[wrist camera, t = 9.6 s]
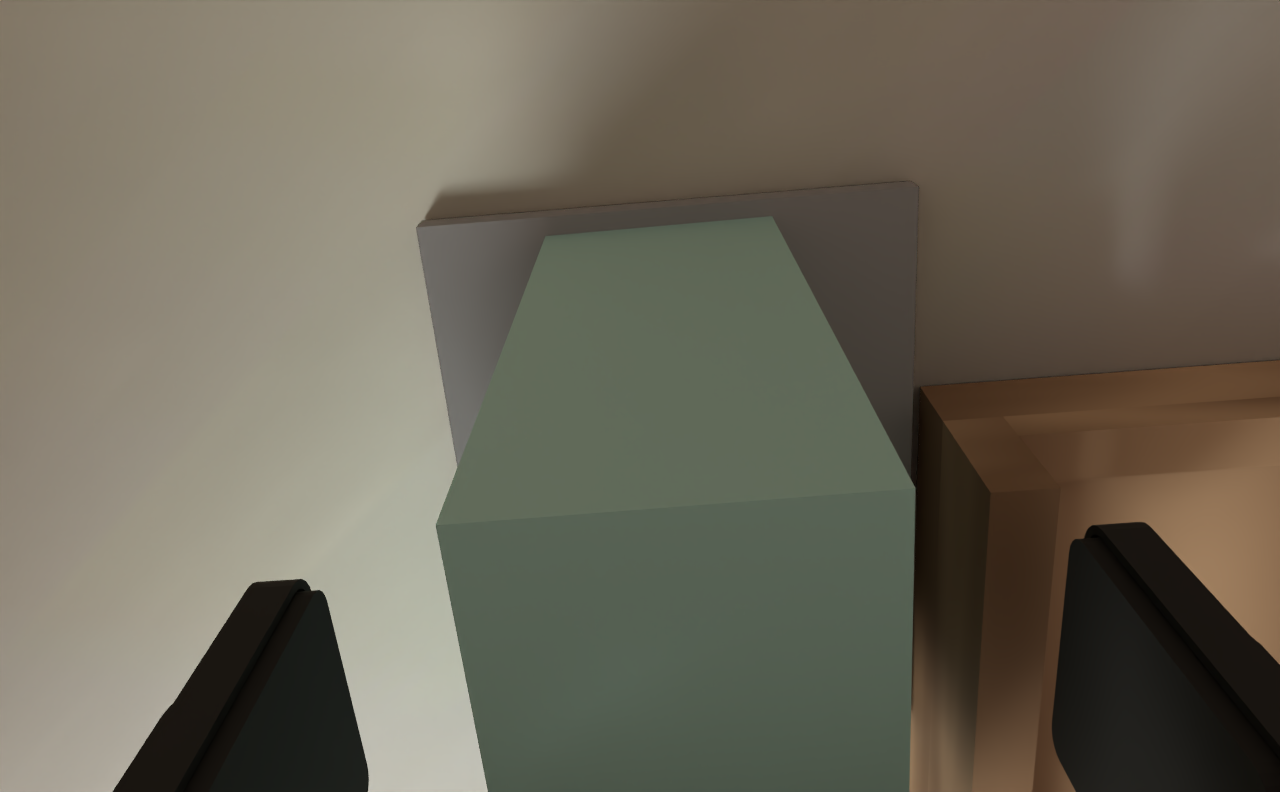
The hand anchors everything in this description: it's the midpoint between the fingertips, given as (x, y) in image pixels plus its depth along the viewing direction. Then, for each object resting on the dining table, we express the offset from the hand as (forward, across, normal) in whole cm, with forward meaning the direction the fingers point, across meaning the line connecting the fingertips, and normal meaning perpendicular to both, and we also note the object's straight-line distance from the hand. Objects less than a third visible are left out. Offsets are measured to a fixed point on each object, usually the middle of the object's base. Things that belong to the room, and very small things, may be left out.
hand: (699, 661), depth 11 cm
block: (+4, 0, 0) cm, 4 cm away
